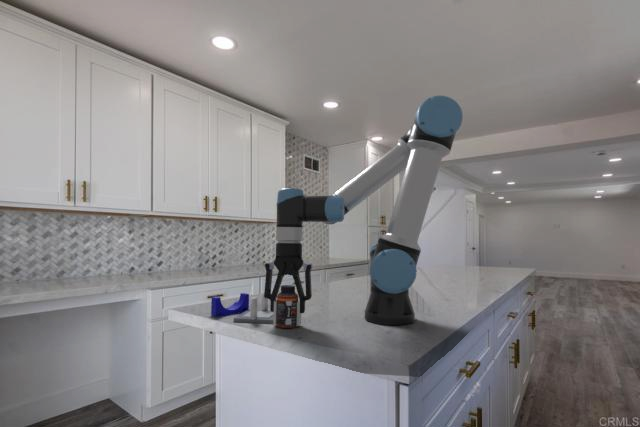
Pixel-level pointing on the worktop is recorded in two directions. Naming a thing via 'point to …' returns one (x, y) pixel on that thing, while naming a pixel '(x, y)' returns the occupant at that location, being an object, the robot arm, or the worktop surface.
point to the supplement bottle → (287, 307)
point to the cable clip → (236, 308)
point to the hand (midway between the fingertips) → (287, 324)
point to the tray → (260, 320)
